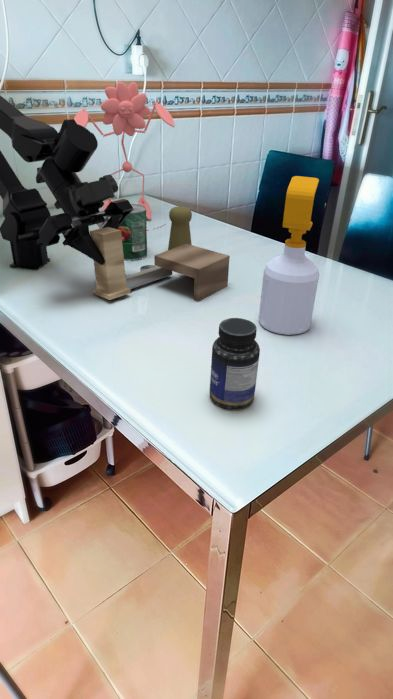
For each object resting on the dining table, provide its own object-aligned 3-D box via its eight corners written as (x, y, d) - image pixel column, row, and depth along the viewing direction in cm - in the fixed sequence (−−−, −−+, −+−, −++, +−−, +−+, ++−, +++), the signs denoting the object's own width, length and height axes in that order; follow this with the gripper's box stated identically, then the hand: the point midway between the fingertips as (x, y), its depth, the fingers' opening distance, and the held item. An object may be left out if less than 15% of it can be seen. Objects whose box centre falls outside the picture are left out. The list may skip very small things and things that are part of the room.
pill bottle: (207, 385, 67) (210, 314, 62) (249, 384, 68) (257, 314, 62) (212, 412, 62) (216, 338, 56) (258, 411, 62) (267, 337, 57)
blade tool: (94, 293, 91) (85, 231, 86) (162, 271, 102) (158, 214, 97) (109, 300, 88) (102, 235, 83) (178, 276, 99) (175, 218, 94)
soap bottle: (313, 317, 87) (337, 176, 74) (306, 340, 79) (332, 187, 67) (264, 308, 89) (280, 170, 76) (253, 330, 82) (269, 181, 69)
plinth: (154, 286, 96) (154, 255, 93) (185, 272, 103) (186, 243, 100) (197, 301, 91) (199, 269, 88) (227, 286, 98) (229, 255, 94)
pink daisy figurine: (79, 219, 135) (66, 78, 117) (165, 214, 144) (167, 81, 125) (88, 237, 123) (76, 82, 105) (182, 230, 132) (186, 85, 113)
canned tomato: (107, 257, 110) (103, 209, 104) (124, 247, 116) (121, 201, 111) (137, 263, 108) (135, 214, 102) (153, 252, 114) (152, 206, 108)
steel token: (137, 279, 100) (137, 270, 99) (144, 272, 103) (144, 264, 102) (155, 282, 99) (155, 273, 98) (161, 275, 102) (161, 266, 101)
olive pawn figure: (189, 259, 111) (190, 211, 105) (164, 257, 111) (164, 209, 106) (194, 251, 116) (196, 205, 110) (170, 248, 117) (170, 203, 111)
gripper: (40, 166, 75) (93, 250, 75) (124, 154, 88) (169, 225, 88) (18, 207, 83) (65, 283, 83) (98, 190, 96) (139, 256, 96)
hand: (112, 260), depth 88 cm, fingers closed on blade tool, 4 cm apart
